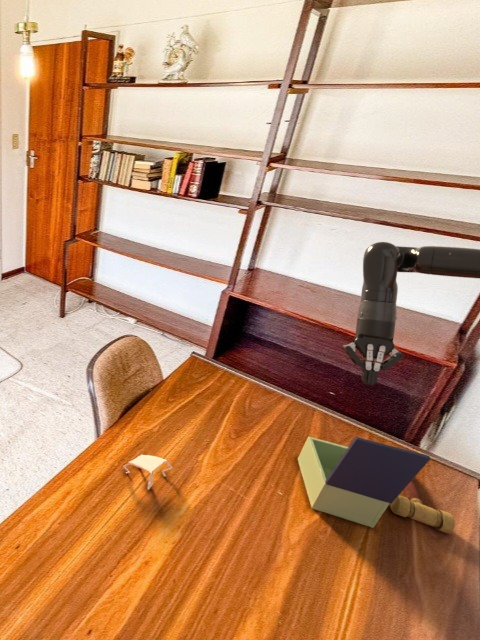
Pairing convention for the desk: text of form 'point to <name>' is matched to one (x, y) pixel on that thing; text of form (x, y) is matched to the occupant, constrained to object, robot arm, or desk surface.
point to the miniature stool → (148, 465)
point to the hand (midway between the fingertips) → (368, 384)
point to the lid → (376, 469)
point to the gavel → (421, 510)
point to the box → (316, 469)
